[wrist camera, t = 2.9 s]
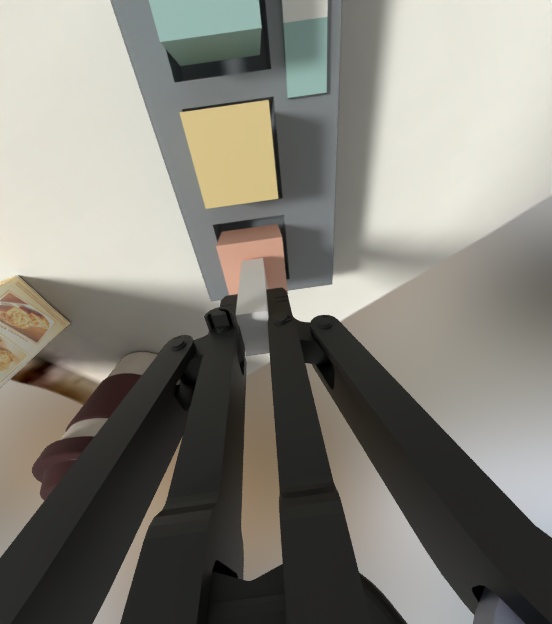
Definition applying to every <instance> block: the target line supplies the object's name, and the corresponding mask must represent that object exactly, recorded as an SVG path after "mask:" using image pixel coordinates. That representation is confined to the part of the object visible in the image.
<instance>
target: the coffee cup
mask: <svg viewBox="0 0 552 624" xmlns="http://www.w3.org/2000/svg"><path fill="white" fill-rule="evenodd" d="M156 356H157V354H153V353H149V352H135V353H131V354H128V355H126V356H125V357H124V358H122V359H121V360H120V362H119V363H118V364H117V366H116V367H115V368H114V370H113V371H112V372H111V373H110V375H109V376H108V377H107V378H106V379H105V380H103V381H102V382H101V383H100V385H99V386H98V387H97V389H96V390H95V391H94V393H93V394H92V395H91V396H90V398H89V399H88V400H87V402H86V403H85V404H84V405H83V407H82V408H81V409H80V411H79V412H78V413H77V415H76V416H75V417H74V418H73V420H72V421H71V422H70V424H69V425H68V427H67V429H66V433H65V434H64V436H63V437H62V438H61V440H59V441H56V442H54V443H52V444H50V445H49V446H47V447H46V448H45V450H44V451H43V452H42V453H41V455H40V457H39V458H38V459H37V461H36V462H35V463H34V465H33V467H32V473H33V475H34V477H35V478H36V479H37V480H38V481H40V482H41V483H42V486H41V490H40V495H41V498H42V499H43V500H46V498H47V497H48V496H49V495H50V493H51V492H52V491H53V489H54V488H55V487H56V486H57V484H58V483H59V482H60V480H61V479H62V478H63V476H64V475H65V474H66V473H67V471H68V470H69V469H70V467H71V466H72V465H73V464H74V462H75V461H76V460H77V458H78V457H79V456H80V455H81V453H82V452H83V451H84V449H85V448H86V447H87V445H88V444H89V443H90V442H91V440H92V439H93V438H94V436H95V435H96V434H97V433H98V431H99V430H100V429H101V427H102V426H103V425H104V424H105V422H106V421H107V420H108V418H109V417H110V416H111V415H112V413H113V412H114V411H115V409H116V408H117V407H118V405H119V404H120V403H121V402H122V400H123V399H124V398H125V396H126V395H127V394H128V393H129V391H130V390H131V389H132V387H133V386H134V385H135V384H136V382H137V381H138V380H139V378H140V377H141V376H142V375H143V373H144V372H145V371H146V369H147V368H148V367H149V365H150V364H151V363H152V362H153V360H154V359H155V358H156Z"/></svg>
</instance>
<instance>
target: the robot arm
mask: <svg viewBox="0 0 552 624" xmlns="http://www.w3.org/2000/svg"><path fill="white" fill-rule="evenodd" d="M204 318H205V320H206V323H207V326H208V329H209V334H208V335H206V336H204V337H202V338H199V339H196V340H193V338H192V337H191V336H188V335H181V336H178V337H175V338H173V339H172V340H170V341H169V342H168V343H167V344H166V345H165V346H164V347H163V349H162V350H161V351H160V353H159V354H158V355H157V356H156V358H155V359H154V360H153V362H152V363H151V364H150V365H149V367H148V368H147V369H146V371H145V372H144V373H143V375H142V376H141V377H140V378H139V380H138V381H137V382H136V384H135V385H134V386H133V387H132V389H131V390H130V391H129V393H128V394H127V395H126V396H125V398H124V399H123V400H122V402H121V403H120V404H119V405H118V407H117V408H116V409H115V411H114V412H113V413H112V415H111V416H110V417H109V418H108V420H107V421H106V422H105V424H104V425H103V426H102V427H101V429H100V430H99V431H98V433H97V434H96V435H95V436H94V438H93V439H92V440H91V442H90V443H89V444H88V445H87V447H86V448H85V449H84V451H83V452H82V453H81V455H80V456H79V457H78V458H77V460H76V461H75V462H74V464H73V465H72V466H71V467H70V469H69V470H68V471H67V473H66V474H65V475H64V476H63V478H62V479H61V480H60V482H59V483H58V484H57V486H56V487H55V488H54V489H53V491H52V492H51V493H50V495H49V496H48V497H47V498H46V500H45V501H44V502H43V504H42V505H41V506H40V507H39V509H38V510H37V511H36V513H35V514H34V515H33V517H32V518H31V519H30V521H29V522H28V523H27V524H26V526H25V527H24V528H23V530H22V531H21V532H20V533H19V535H18V536H17V537H16V539H15V540H14V541H13V542H12V544H11V545H10V546H9V548H8V549H7V550H6V551H5V553H4V554H3V555H2V556H1V558H0V624H92V623H93V622H94V620H95V618H96V616H97V614H98V612H99V610H100V608H101V606H102V604H103V602H104V600H105V598H106V596H107V594H108V592H109V590H110V588H111V586H112V584H113V582H114V580H115V578H116V575H117V573H118V571H119V569H120V567H121V565H122V563H123V561H124V559H125V556H126V554H127V552H128V550H129V548H130V546H131V544H132V542H133V540H134V537H135V535H136V533H137V531H138V529H139V527H140V525H141V522H142V520H143V518H144V516H145V514H146V512H147V510H148V508H149V506H150V504H151V501H152V499H153V497H154V495H155V493H156V491H157V489H158V487H159V485H160V482H161V480H162V478H163V476H164V474H165V472H166V470H167V468H168V466H169V463H170V461H171V459H172V457H173V455H174V453H175V451H176V449H177V447H178V444H179V442H180V440H181V438H182V441H181V445H180V449H179V453H178V457H177V461H176V465H175V469H174V473H173V478H172V481H171V485H170V489H169V493H168V497H167V501H166V504H165V506H164V508H163V510H162V511H161V512H160V513H159V514H157V515H156V516H155V517H154V519H153V520H152V522H151V524H150V525H149V528H148V530H147V533H146V536H145V539H144V542H143V545H142V549H141V552H140V556H139V559H138V563H137V567H136V570H135V574H134V577H133V581H132V585H131V588H130V591H129V595H128V598H127V602H126V605H125V609H124V612H123V616H122V619H121V623H120V624H407V623H406V621H405V620H404V619H403V618H402V616H401V615H400V614H399V613H398V611H397V610H396V609H395V608H394V606H393V605H392V604H391V603H390V601H389V600H388V599H387V598H386V597H385V595H384V594H383V593H382V592H381V591H380V590H379V589H378V588H377V587H376V586H375V585H374V584H373V583H372V582H371V581H369V580H368V579H367V578H366V577H364V576H363V575H362V574H360V573H359V571H358V567H357V563H356V559H355V555H354V551H353V547H352V543H351V539H350V535H349V531H348V527H347V523H346V519H345V515H344V511H343V507H342V503H341V500H340V497H339V494H338V491H337V489H336V487H335V485H334V482H333V478H332V474H331V470H330V466H329V461H328V457H327V453H326V449H325V445H324V441H323V436H322V432H321V428H320V424H319V420H318V415H317V411H316V407H315V403H314V399H313V395H312V391H311V386H310V382H309V378H308V374H307V369H306V365H305V363H310V364H312V365H313V367H314V369H315V371H316V372H317V374H318V376H319V377H320V379H321V381H322V382H323V384H324V385H325V387H326V389H327V390H328V392H329V394H330V395H331V397H332V398H333V400H334V402H335V403H336V405H337V406H338V408H339V410H340V412H341V413H342V415H343V416H344V418H345V420H346V421H347V423H348V424H349V426H350V428H351V429H352V431H353V433H354V434H355V436H356V437H357V439H358V441H359V442H360V444H361V445H362V447H363V449H364V451H365V452H366V454H367V455H368V457H369V459H370V460H371V462H372V464H373V465H374V467H375V468H376V470H377V472H378V473H379V475H380V477H381V478H382V480H383V481H384V483H385V485H386V486H387V488H388V490H389V491H390V493H391V494H392V496H393V498H394V499H395V501H396V503H397V504H398V506H399V508H400V509H401V511H402V512H403V514H404V516H405V517H406V519H407V521H408V522H409V524H410V525H411V527H412V529H413V530H414V532H415V533H416V535H417V537H418V538H419V540H420V542H421V543H422V545H423V547H424V548H425V550H426V551H427V553H428V554H429V555H430V557H431V559H432V560H433V562H434V563H435V565H436V566H437V568H438V569H439V571H440V572H441V574H442V575H443V576H444V578H445V579H446V580H447V582H448V583H449V584H450V586H451V587H452V588H453V590H454V591H455V592H456V593H457V595H458V596H459V597H460V599H461V600H462V601H463V603H464V604H465V605H466V606H467V607H468V608H469V610H470V611H471V612H472V613H473V614H474V621H473V624H552V538H551V537H550V536H548V535H547V534H546V533H544V532H543V531H542V530H540V529H539V528H538V527H536V526H535V525H534V524H533V523H532V522H531V521H530V520H529V519H528V518H527V517H526V515H525V514H524V513H523V512H522V511H521V510H520V509H519V508H518V507H517V506H516V505H515V504H514V503H513V502H512V501H511V500H510V499H509V498H508V497H507V496H506V495H505V494H504V493H503V491H501V489H500V488H499V487H498V486H497V485H496V484H495V483H494V482H493V481H492V480H491V479H490V478H489V477H488V476H487V475H486V474H485V473H484V472H483V471H482V470H481V469H480V468H479V466H477V464H476V463H475V462H474V461H473V460H472V459H470V457H469V456H468V455H467V454H466V453H465V452H464V451H463V450H462V449H461V448H460V447H459V446H458V445H457V443H456V442H454V440H453V439H452V438H451V437H450V436H449V435H448V434H447V433H446V432H445V431H444V430H443V429H442V428H441V427H440V426H439V425H438V424H437V423H436V422H435V421H434V420H433V418H432V417H431V416H429V414H428V413H427V412H426V411H425V410H424V409H423V408H422V407H421V406H420V405H419V404H418V403H417V402H416V401H415V400H414V399H413V398H412V397H411V395H410V394H409V393H408V392H406V390H405V389H404V388H403V387H402V386H401V385H400V384H399V383H398V382H397V381H396V380H395V379H394V378H393V377H392V376H391V375H390V374H389V373H388V371H386V369H385V368H384V367H383V366H382V365H381V364H380V363H379V362H378V361H377V360H376V359H375V358H374V357H373V356H372V355H371V354H370V353H369V352H368V351H367V350H366V349H365V347H364V346H363V345H362V344H361V343H360V342H358V340H357V339H356V338H355V337H354V336H353V335H352V334H351V333H350V332H349V331H348V330H347V329H346V328H345V327H344V326H343V325H342V323H341V322H340V321H339V320H338V319H336V318H335V317H333V316H330V315H320V316H317V317H315V318H313V319H312V320H311V323H309V322H301V321H298V320H297V319H295V318H294V317H293V315H292V312H291V307H290V303H289V299H288V295H287V291H286V290H285V289H284V288H283V287H281V288H273V289H268V288H267V281H266V275H265V268H264V262H263V258H259V259H252V260H245V261H242V263H241V272H240V281H239V289H238V294H235V295H228V296H225V297H224V298H223V299H222V300H221V304H220V307H219V308H215V309H213V310H210V311H209V312H208V313H206V315H205V317H204ZM245 352H246V356H250V355H257V354H265V353H270V364H271V377H272V391H273V405H274V418H275V431H276V445H277V459H278V472H279V486H280V496H279V513H280V529H281V544H282V557H283V564H282V565H280V566H278V567H276V568H274V569H273V570H271V571H269V572H267V573H265V574H264V575H262V576H260V577H258V578H256V579H254V580H252V581H245V580H243V566H244V557H243V556H244V553H243V552H244V551H243V540H242V534H241V509H242V480H243V476H242V475H243V449H244V421H245V419H244V418H245V390H246V360H245ZM182 436H183V437H182Z"/></svg>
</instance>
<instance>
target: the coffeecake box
mask: <svg viewBox="0 0 552 624" xmlns="http://www.w3.org/2000/svg"><path fill="white" fill-rule="evenodd" d="M70 324H71V323H70V322H69V321H68V320H67V319H65V318H64V317H63V316H62V315H61V314H60V313H59V312H57V311H56V310H55V309H54V308H53V307H52V306H51V305H49V304H48V303H47V302H46V301H45V300H44V299H43V298H42V297H41V296H40V295H39V294H38V293H37V292H36V291H35V290H34V289H33V288H32V287H30V286H29V285H28V284H27V283H26V282H25V281H24V280H23V279H21V278H20V277H19V276H13V277H11V278H8V279H6V280H3V281H0V388H1V387H2V386H3V385H4V384H5V383H6V382H7V381H9V380H10V379H11V378H12V377H13V376H14V375H15V374H16V373H17V372H18V371H20V370H21V369H22V368H23V367H24V366H25V365H26V364H27V363H28V362H29V361H30V360H31V359H32V358H34V357H35V356H36V355H37V354H38V353H39V352H40V351H41V350H42V349H43V348H44V347H45V346H46V345H47V344H49V343H50V342H51V341H52V340H53V339H54V338H55V337H56V336H57V335H58V334H59V333H60V332H62V331H63V330H64V329H65V328H66V327H67V326H69V325H70Z"/></svg>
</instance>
